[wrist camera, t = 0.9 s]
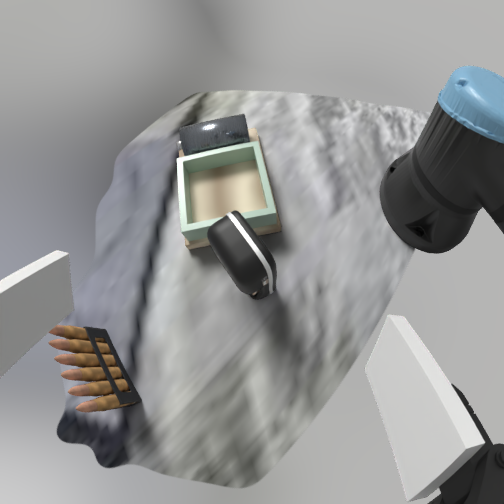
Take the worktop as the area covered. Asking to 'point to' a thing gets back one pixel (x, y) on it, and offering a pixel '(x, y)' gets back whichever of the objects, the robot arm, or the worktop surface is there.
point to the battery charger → (243, 255)
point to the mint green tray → (222, 178)
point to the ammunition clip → (94, 368)
